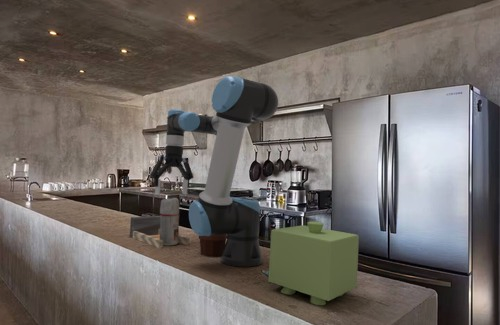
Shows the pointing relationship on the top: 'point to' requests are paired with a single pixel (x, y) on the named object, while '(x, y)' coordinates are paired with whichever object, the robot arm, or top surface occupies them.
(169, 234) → the grey cylinder
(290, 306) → the top surface
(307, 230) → the container
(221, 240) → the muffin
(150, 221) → the track
